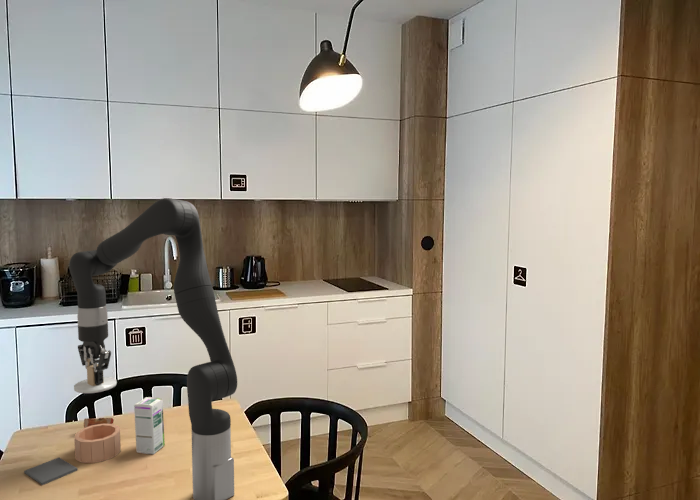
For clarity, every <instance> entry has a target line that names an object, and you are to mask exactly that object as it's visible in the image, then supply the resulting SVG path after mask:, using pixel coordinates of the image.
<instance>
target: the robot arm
mask: <svg viewBox="0 0 700 500" xmlns="http://www.w3.org/2000/svg"><path fill="white" fill-rule="evenodd" d="M200 221H201V220H200V216H199V212H198V210H197V208H196V207H195V205H194V204H193V203H191V202H189V201H186V200H183V199H176V198H170V197H163V198H160V199H159V200H157V201H155V202H154V203H153V204H151V205H150V206H148V208H146V209H145V211H143V212H142V213H141V214H140V215H139V216H138V217H137V218H136V219H134V220H133V221H131V222H130V224H128V225H127V226H125V227H124V228H123V229H122V230H120V231H118V232H117V233H115V234H113V235H112V236H110V237H108V238H106V239H104V240H103V241H102V242H100V243H99V244H98V246H97V247H96V249H95V250H86V251H78V252H76V253H74V254H73V255H72V256H71V257H70V260H69V263H68V269H69V273H70V276H71V279H72V281H73V285H74V288H75V290H76V293H77V316H76V317H77V334H78V335H77V336H78V337H77V338H78V340H79V342H82V344H79V345H77V349H78V350H77V351H78V354H79V358H80V361H81V365H82V367H85V369H86V370H87V366H91V365H93V367H94V382H95V384H96V385H98V384H102V383H103V377H104V370H107V369H109V366H110V361H111V357H112V351H111V350H110V349H109V350H106V344H105V340H106V339H108V337H109V322H108V320H109V318H108V317H109V316H108V310H107V299H106V298H107V294H106V287H105V286H104V285H102V284H99V283H98V284H96V283H94V280H93V277H96V276H101V275H104V274H106V273H109V272H110V271H111V270H113V269H114V268H115V267H116V266H117V265H118V264H119V263H121V262H124V261H125V260H127V259H128V258H130V257H132V256H134V255H135V254H136V253H137V252H139V250H140V248H141V247H142V244H143V243H144V242H145V241H147V240H148V239H150V238H154V237H157V236H159V235H165V236H175V239H176V242H177V247H178V251H179V262H178V266H177V270H176V273H175V276H174V281H173V293H174V298H175V303H176V306H177V311H178V314H179V316H180V318H181V319H182V320H183V321H184V323H185V324H186V325H187V326H188V327H189V329H191V330H192V331H193V332H194V333H195V334H196V335H197V336H198V337H199V338H200V340H201V341H202V343H203V345H204V346H205V348H206V350H207V351H206V352H207V353H208V354H207V355H208V356H209V359H210V361H207V362H204V363H201V364H197V365H196V364H195V365H193V366H192V367H190V369H189V370H188V372H187V376H186V389H187V390H186V391H187V403H188V404H187V405H188V416H189V420H190V424H191V425H190V426H191V466H192V467H191V468H192V469H191V470H192V471H191V472H192V475H191V476H192V500H228V499H230V498H231V497H233V496H234V495H235V459H234V457H232V445H231V444H232V440H231V439H232V438H231V435H232V433H231V431H232V430H231V425H232V424H231V422H232V421H231V415H230V413H229V412H228V411H226V410H223V409H219V408H213V405H212V404H213V402H215V401H218V400H220V399H224V398H228V397H230V396H232V395H234V394H235V392H236V391H237V388H238V376H237V371H236V368H235V364H234V361H233V358H232V355H231V352H230V349H229V346H228V343H227V340H226V336H225V334H224V330H223V327H222V323H221V319H220V318H221V317H220V315H219V311H218V306H217V301H216V296H215V292H214V288H213V285H212V281H211V277H210V274H209V273H210V272H209V270H208V269H209V268H208V264H207V259H206V254H205V248H204V241H203V235H202V230H201V229H202V228H201V222H200ZM97 364H98V367H97Z"/></svg>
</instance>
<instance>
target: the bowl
mask: <svg viewBox="0 0 700 500" xmlns="http://www.w3.org/2000/svg"><path fill="white" fill-rule="evenodd" d="M73 439H74V457H75V458H74V459H75V460H76V461H78V462H80V463H84V464H85V463H86V464H95V463H99V462H105V461H107V460H110V459H112V458H114V457H116V456H117V455H118V454H119V453H121V451H122V449H121V446H122V445H121V427H120V426H119V425H116V424H115V423H113V424H97V425H92V426H89V427H86V428H84V427H83V428H81V429H80V430H78V431H77V432H76V433H75V434H74V437H73Z"/></svg>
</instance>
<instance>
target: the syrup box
mask: <svg viewBox="0 0 700 500" xmlns="http://www.w3.org/2000/svg"><path fill="white" fill-rule="evenodd" d="M133 408H134V409H133V410H134V412H133V414H134V430H135V432H134V433H135V448H136V450H135V451H136V453H139V454H145V455H146V454H147V455H155V454H156V453H157V452H158V451H160V450H161V449H162V448H164V447H165V445H166V444H165V443H166V441H165V427H164V426H165V425H164V424H165V423H164V421H165V420H164V401H163V398H160V397H153V396H152V397H151V396H148V397H147V396H146V397H144V398H142V400H139V401H138V402H136V403H134V405H133Z"/></svg>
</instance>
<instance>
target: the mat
mask: <svg viewBox="0 0 700 500" xmlns="http://www.w3.org/2000/svg"><path fill="white" fill-rule="evenodd" d="M77 471H79V468H78V467H76V466H74V465H73V464H71V463H70V462H68V461H66V460H65V459H63V458H61V457H57V458H54V459H51V460H48V461H46V462H44V463H41V464H38V465H35V466H33V467H30V468H27V469H25V470H23V473H24V474H25V475H27V476H28V477H29V478H31V479H33V480H34V481H36V482H37V483H38V484H40V485H42V486H44V485H46V484H48V483H51V482H53V481H55V480H58V479H61V478H64V477H65V476H68V475H71V474H72V473H74V472H77Z"/></svg>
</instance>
